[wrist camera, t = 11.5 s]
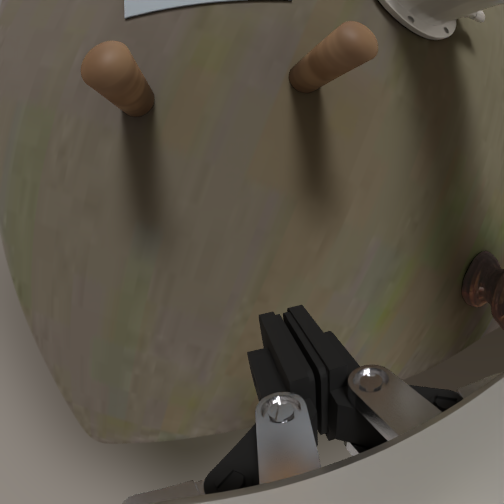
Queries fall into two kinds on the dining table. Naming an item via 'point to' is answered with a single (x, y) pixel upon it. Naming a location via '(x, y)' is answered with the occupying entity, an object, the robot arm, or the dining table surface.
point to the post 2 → (334, 56)
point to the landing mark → (160, 5)
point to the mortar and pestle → (485, 285)
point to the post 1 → (117, 78)
